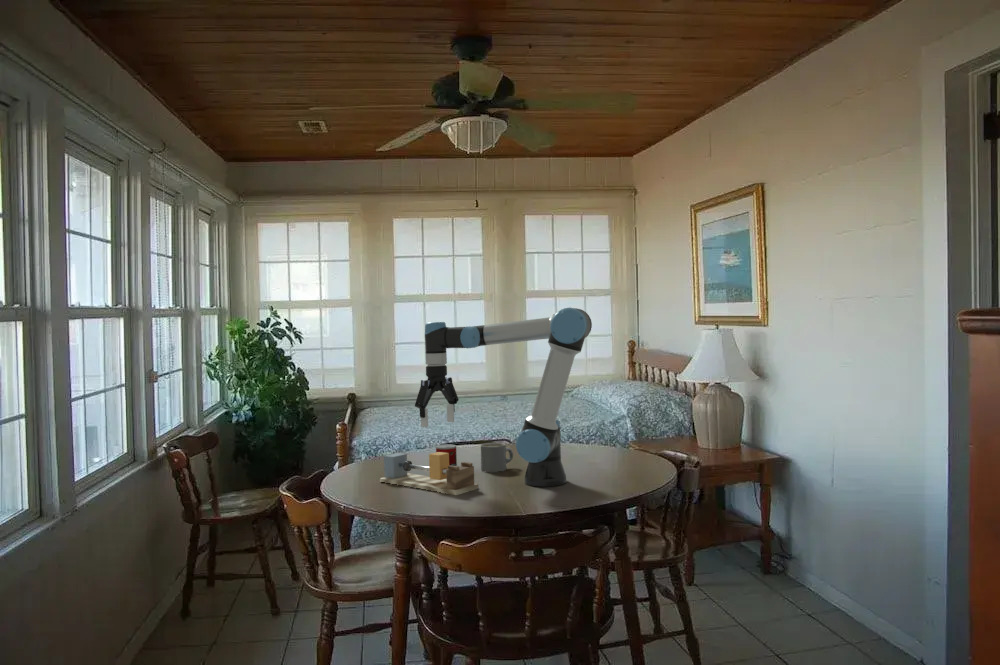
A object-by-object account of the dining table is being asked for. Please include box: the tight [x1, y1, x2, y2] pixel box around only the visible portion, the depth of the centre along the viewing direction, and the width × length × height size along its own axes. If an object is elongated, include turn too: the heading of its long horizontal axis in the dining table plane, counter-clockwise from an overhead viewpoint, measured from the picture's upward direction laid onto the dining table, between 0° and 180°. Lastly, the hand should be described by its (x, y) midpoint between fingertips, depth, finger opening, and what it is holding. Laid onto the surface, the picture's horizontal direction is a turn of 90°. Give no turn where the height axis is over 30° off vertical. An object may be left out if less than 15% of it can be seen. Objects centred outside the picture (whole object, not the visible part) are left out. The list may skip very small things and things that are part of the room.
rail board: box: [379, 461, 479, 496], centre depth 257 cm, size 38×12×9 cm, turn 52°
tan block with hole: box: [428, 451, 449, 480], centre depth 253 cm, size 5×5×9 cm
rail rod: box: [399, 460, 448, 474], centre depth 257 cm, size 29×4×4 cm, turn 52°
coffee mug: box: [480, 442, 514, 473], centre depth 281 cm, size 13×10×10 cm
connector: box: [383, 452, 408, 479], centre depth 267 cm, size 5×7×8 cm
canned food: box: [435, 443, 458, 466], centre depth 275 cm, size 8×8×11 cm
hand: (437, 424), depth 253 cm, fingers open, 13 cm apart
